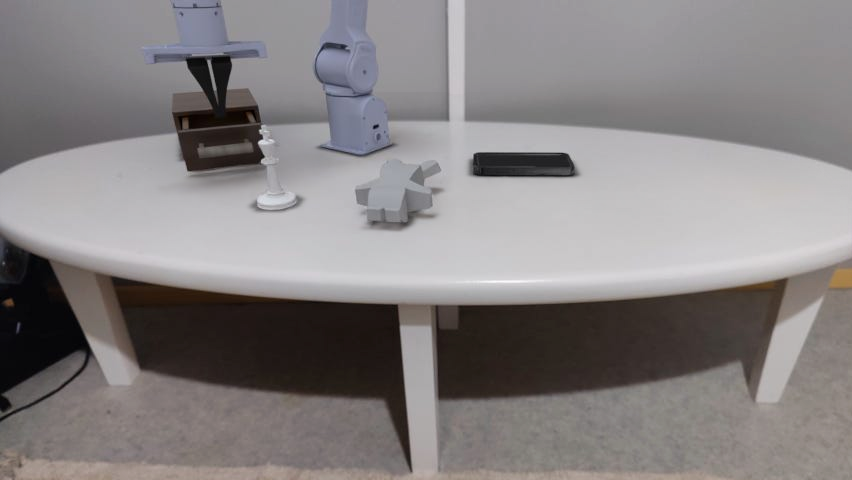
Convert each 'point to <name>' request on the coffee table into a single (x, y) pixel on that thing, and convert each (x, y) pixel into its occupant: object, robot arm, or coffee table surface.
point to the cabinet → (200, 105)
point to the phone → (522, 163)
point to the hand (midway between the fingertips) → (220, 116)
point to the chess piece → (272, 178)
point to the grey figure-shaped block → (397, 190)
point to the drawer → (220, 140)
